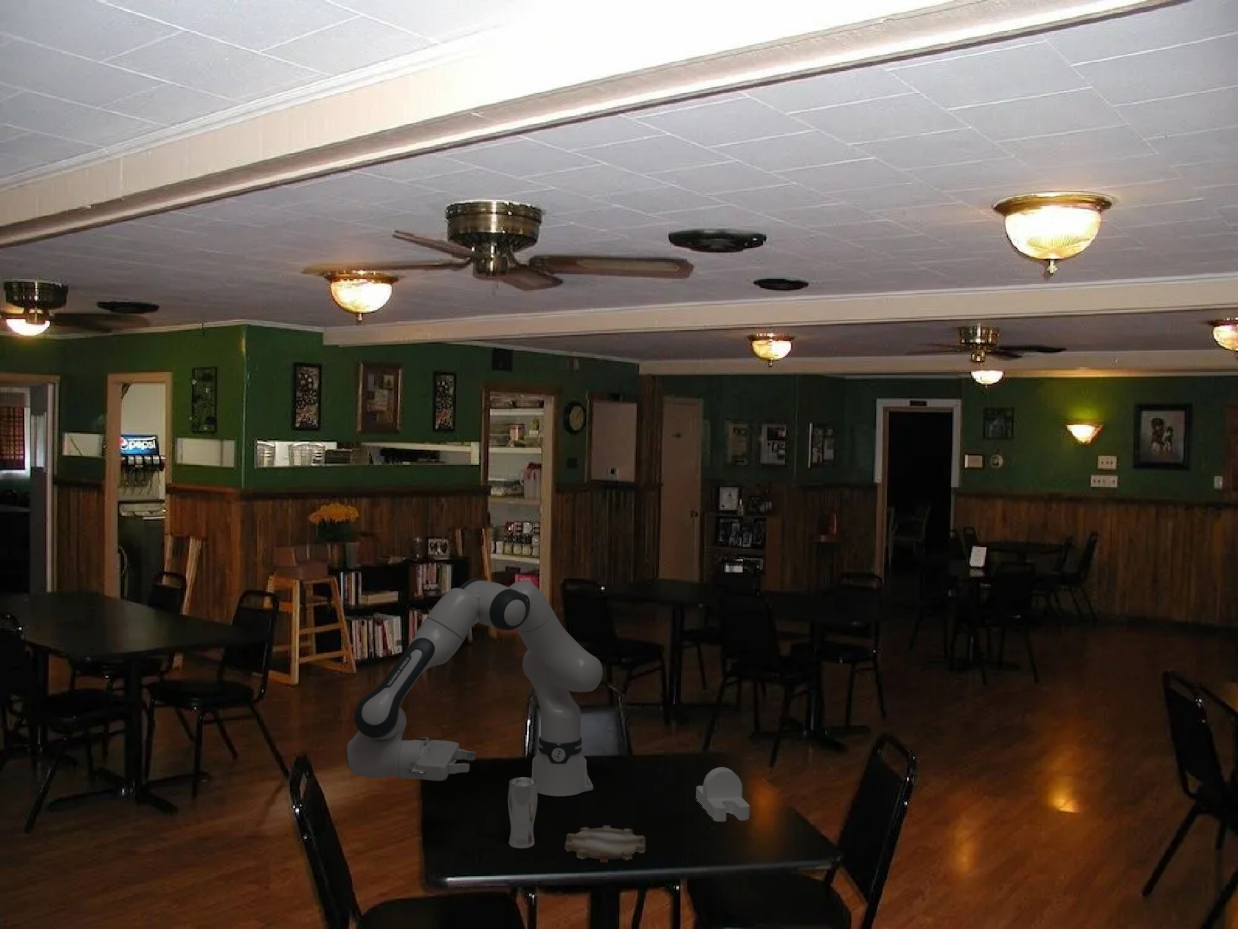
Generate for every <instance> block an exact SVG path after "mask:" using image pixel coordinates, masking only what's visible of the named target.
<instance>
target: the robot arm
mask: <svg viewBox="0 0 1238 929" xmlns="http://www.w3.org/2000/svg"><path fill="white" fill-rule="evenodd" d="M478 623H479V624H481V625H484V626H488V627H491V628H496V629H497V630H500V631H513V630H516V632H517V634H518V636H519V637H520V639H521V640H522V642H523V645H524V646H525V647H526V649H527V651H526V652H525V654H523V655H524V656H523V657H522V670H523V673H524V675H525V676H526V677H527V679H528V680H529V681H530V683H531V685H532V687H533V689H534V691H535V694H536V698H537V700H538V704H539V706H538V707H539V710H540V711H539V712H540V713H539V715H540V726H539V727H540V731H539V732H540V734H539V735H540V736H539V737H538V741H537V746H538V749H537V750H538V753H537V754H536V755H535V756H534V757H533V759H532V765H531V766H532V767H531V777H530V778H532V779H535V780H536V781H537V794H541V795H544V796H551V797H567V796H568V797H569V796H574V795H575V796H576V795H578V794H581V793H583V792H589V791H593V790H594V785H593V783H592V781H591V779H590V777H589V774H588V770H587V758H585V756H584V755H583V754H582V750H583V749H582V748H583V739H582V737H581V728H582V727H581V721H582V712H581V708H580V706H579V705H578V704H577V703H576V701H575V700H574V698H573V696H572V695H571V692H574V693H590V692H592V691H594V690H595V689H596V688H598V687H599V685H600V683H601V681H602V679H603V674H604V673H603V671H604V670H603V665H602V663H601V661H600V659H598V658H597V657H596V656H595V655H593V654H591V653H590V652H588V651H587V650H586V649H585V648H583V646H581V644H580V643H578V642H577V641H576V640H575V639H574V638H573V636H572V635H571V634H569V633H568V631H567V630H566V629H565V628H564V626H563V625H562V624H561V622H560V620H559V618H558V616H557V615H556V613H555V612H554V610H553V608H552V606H551V604H550V602H549V601H548V599H547V598H546V597H545V595H544V594H543V592H541V590H540V589H539V588H538V587H537V586H536V584H534V583H533V582H532V581H528V580H518V581H516V582H513V583H512V584H511V585H510V586H509V587H508V586H506V585H504V584H501V583H499V582H495V581H494V582H493V581H490V580H489V581H488V580H485V579H483V578H471V579H469V580H466V581H464V583H463V584H461V585H460V586H459V587H454V588H451V589H449V590H448V591H446V592H445V594H443V596H442V597H441V598H440V599H439V600H438V601H437V603H435V605H434V606H433V608H432V609H430V611H429V613H428V614H427V616H426V618H425V619H424V620H423V622H422V623H421V625H420V626H419V627H418V630H417V632H416V633H415V635H414V636H413V638H412V640H411V642H410V643H409V645H408V646H407V648H406V650H405V651H404V652H403V654H402V655H401V656H400V658H399V659H398V660H397V661H396V662H395V664H394V665H393V667H392V668H391V670H390V671H389V672H388V674H387V675H386V676H385V678H384V679H383V680H382V681H381V683H380V684H379V686H377V687H376V688H375V689H374V690H373V691H372V690H371V692H369V693H368V694H366V695H365V696H364V697H363V698H362V699H361V700H359V702H358V703H357V705H356V707H355V710H354V713H353V715H354V716H353V719H354V720H353V721H354V724H355V727H356V729H357V730H358V731H357V732H356V734H355V735H354V736H353V738H352V739H351V740H350V741H348V743H347V745H346V749H345V758H346V759H345V760H346V764H347V767H348V769H349V770H350V772H352V773H353V775H354V774H355V775H356V776H360V777H365V778H366V777H368V778H379V779H381V778H387V777H392V778H393V777H395V778H397V779H405V780H406V779H408V780H413V779H414V780H427V781H435V782H436V781H437V782H439V781H440V782H441V781H442V782H443V781H445V780H447V778H448V776H449V774H450V775H455V774H459V773H468V772H469V771H470V770H471V765H470V764H471V763H470V762H462V763H456V762H457V760H467V761H473V762H474V761H475V760H476V757H477V753H476V751H471V750H470V751H469V750H466V749H463V748H462V749H461V748H460V743H458V742H456V741H449V740H439V739H430V740H429V737H418V738H416V739H411V740H406V739H405V740H404V739H403V737H404V734H405V730H406V726H407V716H406V713H405V711H404V709H403V708H402V707H401V705H402V702H403V700H404V699H405V697H406V695H408V693H409V692H410V690H411V689H412V687H413V686H414V685H415V684H416V682H417V681H418V679H419V678H420V676H421V675H422V674H423V673H424V672H426V670H429V669H430V668H432V667H436V666H439V665H443V664H445V663H447V662H448V661H449V660H450V659H452V657H453V656H454V655H455V653H457V651H458V650H459V649H460V647H461V646H462V644H463V643H464V641H465V640H466V638H467V636H468V634H469V633H470V630H471V629H472V628H473V627H474V626H475V625H476V624H478Z"/></svg>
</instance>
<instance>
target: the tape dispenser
mask: <svg viewBox="0 0 1238 929" xmlns="http://www.w3.org/2000/svg"><path fill="white" fill-rule="evenodd" d="M695 788H696V789H695V791H696V792H695V794H696V795H695V800H696V799H697V800H696V801H697V803H698V802H699V803H700V804H701V805H702V806H701V805H700V804H699V803H698V804H699V805H700V806H701V807H702V809H705V810H706V811H707V812H706V811H705V810H704V811H705V812H706V813H707V815H708V816H709V817H710V816H711V817H712V818H713V819H712V818H711V817H710V818H711V819H712V820H713V821H715V822H726V821H727V814H726V813H730V815H733V814H734V815H733V816H734V817H736V818H737V819H738V821H748V820H747V819H749V820H750V809H751V808H750V806H751V805H750V804H749V803H747V801H746V800H745V799H744V798H743V784H742V781H741V779H740V777H739V776H738V774H736V773H735V772H734V771H733V770H732V769H730V768H728V767H723V766H720V767H719V766H718V767H716V768H713V769H712V770H710V771H709V772H708V773H707V774H706V776H705V778H704V779H703V784H702V785H698V786H696V787H695Z"/></svg>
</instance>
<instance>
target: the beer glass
mask: <svg viewBox="0 0 1238 929" xmlns="http://www.w3.org/2000/svg"><path fill="white" fill-rule="evenodd" d="M507 795H508V796H507V805H508V814H509V821H510V835H509V840H508V844H509V846H510V847H511V848H515V849H528V848H531V847H533V846H534V845H535V843H536V842H535V837H534V824H535V818H536V814H537V807H538V792H537V781H536V780H535V779H532V778H531V777H525V776H524V777H522V776H521V777H514V778H511V779H510V780H509V784H508V793H507Z"/></svg>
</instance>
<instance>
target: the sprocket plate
mask: <svg viewBox="0 0 1238 929" xmlns="http://www.w3.org/2000/svg"><path fill="white" fill-rule="evenodd" d="M579 830H580V831H578V832H577V833H573V832H572V833H570V832H568V833H567V834H566V835H565V837H566V840H565V843H564V849H565V850H566V852H573V851H574V852H575V853H576V858H578V859H581V860H585V859H586V858H590V859H596V860H599V862H600V863H609V860H618V859H619V860H620V859H623V860H624V859H625V860H624V861H626V860H627V861H630V860H629V859H631V860H633V855H635V854H636V853H635V852H639V853H638V854H641V853H643V854H644V853H645V852H646V837H645V836H644V835H643V834H642V835H636V834H634V833H633V831H634V830H633V829H630V828H627V827H626V828H624V829H619V828H612V827H611V825H606V824H605V825H602V827H597V828H589V827H588V826H584V827H580V828H579ZM634 853H635V854H634ZM632 854H633V855H632Z"/></svg>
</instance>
